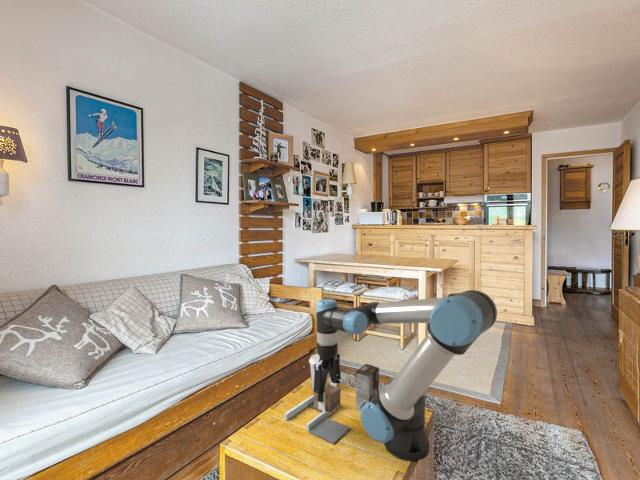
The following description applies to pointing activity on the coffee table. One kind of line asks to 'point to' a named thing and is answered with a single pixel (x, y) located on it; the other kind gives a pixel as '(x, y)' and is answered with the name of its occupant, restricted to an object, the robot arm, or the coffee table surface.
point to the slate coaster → (329, 430)
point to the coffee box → (366, 384)
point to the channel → (310, 403)
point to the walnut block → (329, 397)
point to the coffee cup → (312, 361)
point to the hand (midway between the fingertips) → (328, 404)
